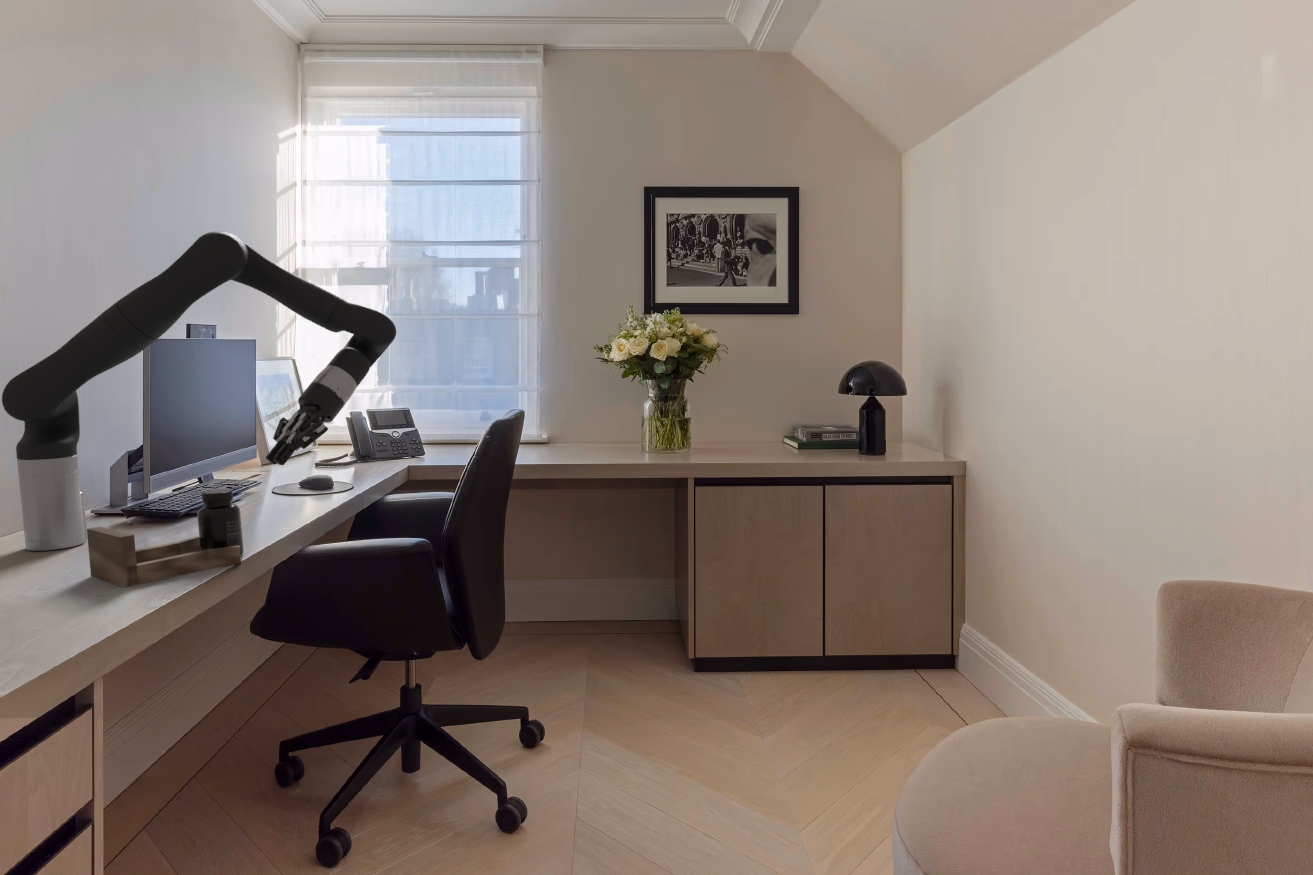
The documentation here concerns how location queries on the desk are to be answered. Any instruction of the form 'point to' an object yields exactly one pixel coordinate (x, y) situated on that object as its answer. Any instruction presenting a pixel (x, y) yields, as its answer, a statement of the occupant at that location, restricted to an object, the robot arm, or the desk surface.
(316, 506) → the desk surface
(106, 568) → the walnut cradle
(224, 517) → the supplement bottle
